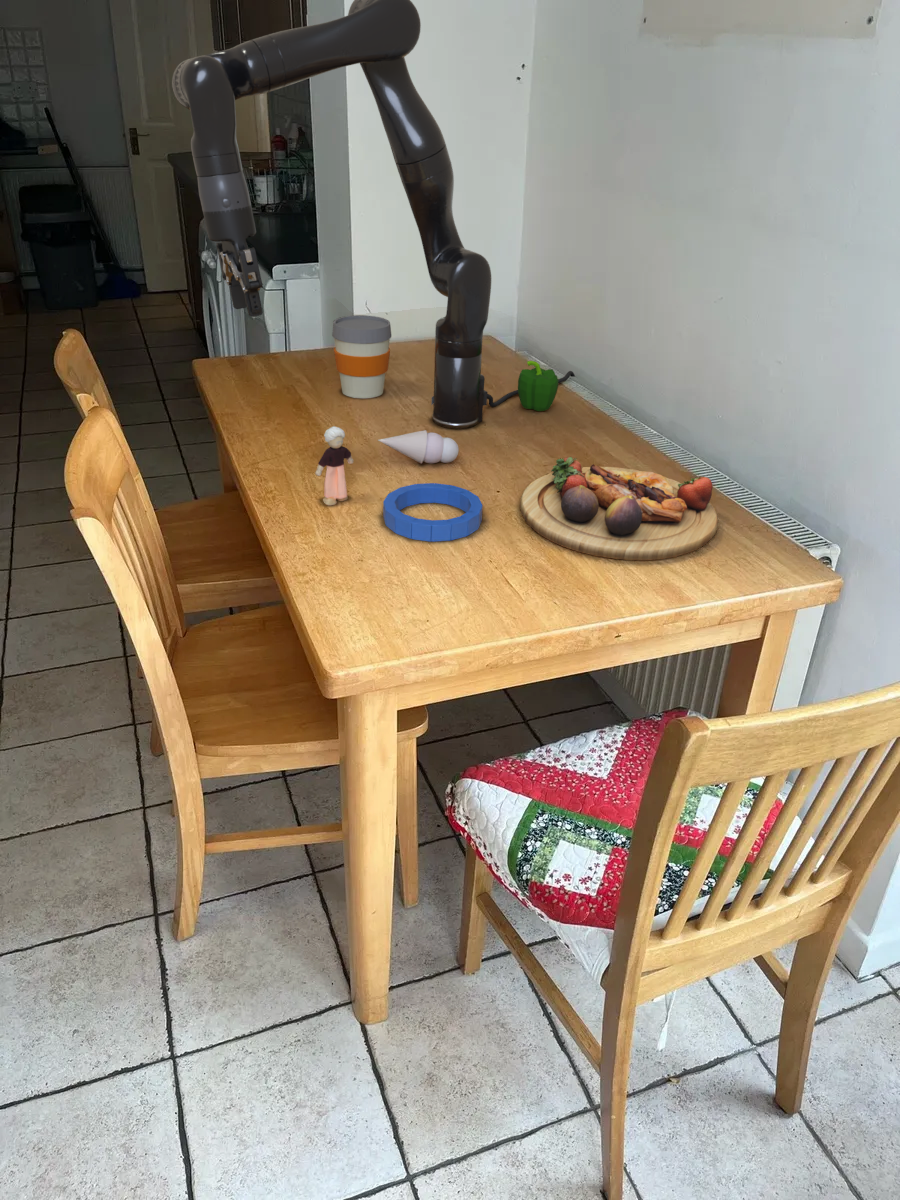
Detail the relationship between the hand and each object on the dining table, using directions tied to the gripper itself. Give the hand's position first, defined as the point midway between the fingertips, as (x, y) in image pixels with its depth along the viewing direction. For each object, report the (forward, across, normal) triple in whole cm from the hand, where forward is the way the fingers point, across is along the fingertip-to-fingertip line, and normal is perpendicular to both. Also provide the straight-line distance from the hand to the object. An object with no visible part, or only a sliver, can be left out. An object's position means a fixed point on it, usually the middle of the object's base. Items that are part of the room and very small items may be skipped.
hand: (248, 311), depth 149 cm
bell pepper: (+33, +8, -60) cm, 69 cm away
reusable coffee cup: (+28, +32, -30) cm, 52 cm away
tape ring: (+31, -30, -15) cm, 46 cm away
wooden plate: (+35, -42, -43) cm, 70 cm away
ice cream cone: (+30, -9, -23) cm, 39 cm away
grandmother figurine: (+29, -17, -4) cm, 34 cm away
